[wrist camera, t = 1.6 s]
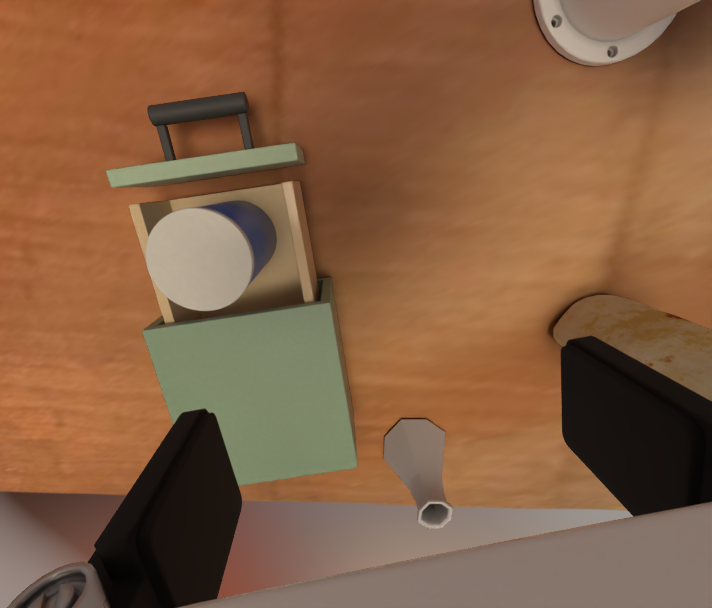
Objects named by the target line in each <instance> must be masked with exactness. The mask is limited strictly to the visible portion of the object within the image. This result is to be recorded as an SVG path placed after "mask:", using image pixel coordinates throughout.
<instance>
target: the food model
mask: <svg viewBox="0 0 712 608" xmlns="http://www.w3.org/2000/svg"><path fill="white" fill-rule="evenodd" d="M586 336H594V337H596V338H598V339H600V340H602V341H603V342H605V343H607V344H609V345H611V346H612V347H614V348H616V349H618V350H620V351H622V352H623V353H625V354H627V355H629V356H631V357H632V358H634V359H636V360H638V361H640V362H641V363H643V364H645V365H647V366H649V367H650V368H652V369H654V370H656V371H658V372H659V373H661V374H663V375H665V376H667V377H669V378H670V379H672V380H674V381H676V382H678V383H679V384H681V385H683V386H685V387H687V388H688V389H690V390H692V391H694V392H696V393H697V394H699V395H701V396H703V397H705V398H706V399H708V400H710V401H712V330H711V329H709V328H706V327H704V326H701V325H698V324H696V323H693V322H691V321H688V320H686V319H683V318H680V317H678V316H675V315H672V314H669V313H666V312H663V311H661V310H658V309H655V308H653V307H650V306H647V305H645V304H642V303H639V302H636V301H633V300H630V299H627V298H623V297H619V296H613V295H595V296H591V297H586V298H584V299H582V300H580V301H578V302H576V303H574V304H573V305H572V306H571V307H570V308H569V309H568V310H567V311H566V312H565V314H564V315H563V316H562V317H561V319H560V320H559V321H558V322H557V324H556V325H555V327H554V329H553V337H554V340H555V341H556V342H557V343H558V344H559V345H561V346H562V347H563V346H566V343H567V341H568V340H570V339H575V338H581V337H586Z"/></svg>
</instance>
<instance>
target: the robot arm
mask: <svg viewBox="0 0 712 608" xmlns="http://www.w3.org/2000/svg"><path fill="white" fill-rule="evenodd" d="M533 1H534V7H535V14H536V17H537V19H538V22H539V25H540V28H541V30H542V32H543V33H544V35H545V37H546V39H547V40H548V42H549V43H550V44H551V45H552V46H553V47H554V48H555V49H556V51H557V52H559V53H560V54H561V55H563V56H564V57H566V58H567V59H569V60H571V61H574V62H576V63H579V64H582V65H589V66H602V65H610V64H613V63H616V62H619V61H622V60H625V59H627V58H629V57H631V56H633V55H636V54H637V53H639V52H640V51H642V50H643V49H645V48H646V47H648V46H649V45H650V44H651V43H653V42H654V41H655V40H656V39H657V38H658V37H659V36H660V35H661V34H662V33H663V32H664V30H665V29H666V28H667V27H668V26H669V24H670V23H671V22H672V20H673V19H674V17H675V15H676V14H677V12H679V11H681V10H683V9H685V8H687V7H689V6H691V5H693V4H695V3H697V2H699V1H701V0H533ZM551 22H552V23H553V26H552V24H551ZM561 392H562V433H563V438H564V440H565V442H566V444H567V445H568V447H569V448H570V449H571V450H572V451H573V452H574V453H575V454H576V455H577V456H578V457H579V458H580V460H581V461H582V462H583V463H584V464H585V465H586V466H587V467H588V468H589V469H590V470H591V471H592V472H593V473H594V475H595V476H596V477H597V478H598V479H599V480H600V481H601V482H602V483H603V484H604V485H605V486H606V487H607V489H608V490H609V491H610V492H611V493H612V494H613V495H614V496H615V497H616V498H617V499H618V500H619V501H620V502H621V504H622V505H623V506H624V507H625V508H626V509H627V510H628V511H629V512H630V513H631V514H632V515H633V516H634V517H629V518H624V519H619V520H613V521H609V522H603V523H598V524H592V525H587V526H582V527H577V528H572V529H566V530H561V531H555V532H550V533H545V534H540V535H534V536H529V537H524V538H519V539H514V540H509V541H504V542H499V543H493V544H488V545H484V546H478V547H473V548H468V549H463V550H457V551H452V552H447V553H443V554H437V555H433V556H427V557H422V558H417V559H412V560H407V561H402V562H397V563H392V564H387V565H382V566H377V567H372V568H367V569H362V570H357V571H352V572H347V573H342V574H337V575H332V576H327V577H323V578H318V579H313V580H308V581H303V582H298V583H293V584H288V585H283V586H278V587H273V588H268V589H263V590H258V591H253V592H249V593H244V594H239V595H234V596H229V597H224V598H219V599H217V596H218V593H219V589H220V585H221V582H222V577H223V574H224V570H225V567H226V563H227V560H228V556H229V552H230V548H231V545H232V541H233V538H234V534H235V530H236V526H237V523H238V519H239V516H240V512H241V507H242V498H241V493H240V490H239V487H238V483H237V480H236V477H235V474H234V471H233V468H232V465H231V461H230V458H229V455H228V452H227V449H226V446H225V443H224V440H223V436H222V433H221V430H220V427H219V424H218V421H217V418H216V415H215V414H214V413H213V412H212V413H209V412H208V411H207V410H206V409H205V408H204V409H198V410H193V411H188V412H183V413H181V414H180V416H179V417H178V419H177V420H176V422H175V423H174V425H173V426H172V428H171V429H170V431H169V432H168V434H167V435H166V437H165V438H164V440H163V441H162V443H161V444H160V446H159V447H158V449H157V450H156V452H155V453H154V455H153V457H152V458H151V460H150V461H149V463H148V464H147V466H146V467H145V469H144V470H143V472H142V473H141V475H140V476H139V478H138V479H137V481H136V482H135V484H134V485H133V487H132V488H131V490H130V491H129V493H128V494H127V496H126V498H125V499H124V501H123V502H122V504H121V505H120V507H119V508H118V510H117V511H116V513H115V514H114V516H113V517H112V519H111V520H110V522H109V523H108V525H107V526H106V528H105V530H104V531H103V532H102V534H101V535H100V537H99V539H98V540H97V542H96V543H95V545H94V546H95V548H96V551H95V552H94V554H93V555H92V557H91V558H90V560H89V561H88V563H86V562H77V563H71V564H68V565H65V566H62V567H59V568H57V569H55V570H53V571H52V572H49V573H48V574H46V575H44V576H42V577H41V578H40V579H38V580H37V581H35V582H34V583H33V584H31V585H30V586H28V587H27V588H26V589H25V590H24V591H23V592H22V593H21V594H19V595H18V596H17V597H16V598H15V599H14V600H13V601H12V602H11V604H10V605H9V606H8V607H7V608H712V401H710V400H708V399H706V398H705V397H703V396H701V395H699V394H697V393H696V392H694V391H692V390H690V389H688V388H687V387H685V386H683V385H681V384H679V383H678V382H676V381H674V380H672V379H670V378H669V377H667V376H665V375H663V374H661V373H659V372H658V371H656V370H654V369H652V368H650V367H649V366H647V365H645V364H643V363H641V362H640V361H638V360H636V359H634V358H632V357H631V356H629V355H627V354H625V353H623V352H622V351H620V350H618V349H616V348H614V347H612V346H611V345H609V344H607V343H605V342H603V341H602V340H600V339H598V338H596V337H594V336H586V337H581V338H575V339H570V340H568V341H567V343H566V346H563V347H562V349H561Z"/></svg>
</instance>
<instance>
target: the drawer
mask: <svg viewBox="0 0 712 608" xmlns="http://www.w3.org/2000/svg"><path fill="white" fill-rule="evenodd" d="M147 110H148V115H149V118H150V120H151V122H152V124H153V125H154V126H156V127H157V130H158V133H159V137H160V141H161V144H162V148H163V152H164V155H165V159H166V161H165V162H158V163H151V164H145V165H138V166H131V167H124V168H117V169H111V170H106V173H107V176H108V179H109V182H110V185H111V187H112V188H122V187H155V186H162V185H169V184H175V183H182V182H189V181H196V180H203V179H209V178H216V177H223V176H230V175H237V174H243V173H250V172H257V171H264V170H270V169H277V168H284V167H291V166H298V165H304V164H305V160H304V154H303V150H302V149H301V148H300V147H299V146H298V145H297V144H296V143H287V144H281V145H274V146H267V147H260V148H254V146H253V141H252V136H251V131H250V127H249V122H248V117H247V114H246V113H249V104H248V100H247V96H246V94H245V92H239V93H232V94H225V95H218V96H212V97H205V98H198V99H191V100H184V101H177V102H170V103H164V104H157V105H150V106H148V108H147ZM232 115H238V119H239V124H240V128H241V133H242V138H243V143H244V147H245V150H240V151H233V152H226V153H219V154H213V155H206V156H199V157H192V158H185V159H179V160H176V157H175V154H174V150H173V146H172V142H171V138H170V135H169V131H168V127H167V126H166V125H171V124H177V123H184V122H191V121H198V120H205V119H212V118H218V117H225V116H232ZM235 200H239V201H246V202H249V203H252V204H254V205H256V206H258V207H259V208H261V209H262V210H263V211H264V212H265V213H266V214H267V215H268V216H269V218H270V219H271V221H272V222H273V225H274V227H275V230H276V236H277V243H276V248H275V252H274V254H273V256H272V258H271V259H270V260H269V262H268V263H267V264H266V265H265V266H264V268H263V269H262V270H261V271H260V272H259V274H258V275H257V276H256V277H255V278H254V280H253V281H252V282H251V283H250V284H249V286H248V287H247V289H246V290H245V292H244V293H243V294H242V295H241V296H240V297H239V298H238V299H237V300H236V301H235V302H233V303H232V304H230V305H228V306H226V307H224V308H221V309H217V310H213V311H197V310H192V309H188V308H185V307H183V306H180V305H178V304H176V303H174V302H173V301H171V300H170V299H169V298H167V297H166V296H165V295H164V294H163V293H162V292H161V291H160V290H159V289H158V288H157V286H156V285H155V283H154V282H153V280H152V278H151V280H152V283H153V286H154V290H155V293H156V296H157V299H158V302H159V306H160V309H161V312H162V315H163V319H164V322H165V324H171V323H178V322H185V321H191V320H198V319H205V318H211V317H218V316H225V315H231V314H238V313H245V312H251V311H258V310H265V309H272V308H278V307H285V306H292V305H298V304H305V303H312V302H318V301H321V299H320V293H319V287H318V282H317V276H316V270H315V265H314V259H313V253H312V248H311V242H310V236H309V231H308V225H307V219H306V214H305V208H304V202H303V197H302V191H301V185H300V181H288V182H282V184H275V185H268V186H262V187H255V188H248V189H241V190H235V191H228V192H221V193H214V194H208V195H201V196H194V197H187V198H180V199H174V200H166V201H157V202H148V203H139V204H132V205H129V209H130V212H131V216H132V219H133V222H134V225H135V228H136V232H137V235H138V238H139V241H140V245H141V248H142V251H143V254H144V257H145V261H146V256H145V255H146V244H147V240H148V237H149V235H150V233H151V231H152V229H153V228H154V226H155V225H156V224H157V223H158V222H159V221H160V220H161V219H162V218H163V217H165V216H166V215H168V214H170V213H172V212H174V211H177V210H180V209H185V208H192V207H200V206H206V205H211V204H217V203H222V202H228V201H235ZM150 277H151V276H150Z"/></svg>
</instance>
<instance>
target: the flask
mask: <svg viewBox="0 0 712 608" xmlns="http://www.w3.org/2000/svg"><path fill="white" fill-rule="evenodd" d="M444 444H445V432H444V431H443V430H441V429H440V428H438V427H437V426H435V425H434V424H433V423H431V422H430V421H428V420H427V419H401V420H400V421H399V422H398V423H397V425H396V426H395V427H394V428H393V429H392V430H391V431H390V432H389V433H388V434H387V435H386V436H385V441H384V456H383V459H384V460H385V461H386V462H387V464H388V465H389V466H390V467H391V468H392V469H393V470H394V471H395V473H396V474H397V475H398V476H399V477H400V479H401V480H402V481H403V482H404V484H405V485H406V486H407V487H408V489H409V490H410V492H411V494H412V496H413V498H414V500H415V502H416V504H417V508H418V516H417V521H418V522H419V523H420V524H422V525H424V526H425V527H427V528H442V527H443V526H444V525H446V524H447V523H448V522H449V521H450V520H451V516H452V509H453V508H452V505H451V504H450V503H448V502H447V501H446V498H445V495H444V491H443V483H442V466H443V453H444Z"/></svg>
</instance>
